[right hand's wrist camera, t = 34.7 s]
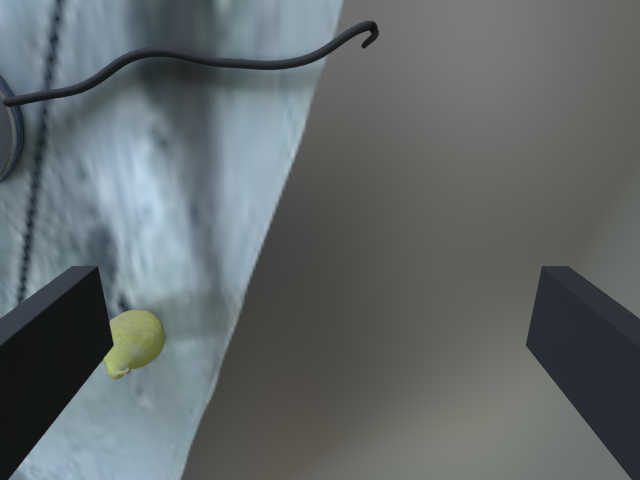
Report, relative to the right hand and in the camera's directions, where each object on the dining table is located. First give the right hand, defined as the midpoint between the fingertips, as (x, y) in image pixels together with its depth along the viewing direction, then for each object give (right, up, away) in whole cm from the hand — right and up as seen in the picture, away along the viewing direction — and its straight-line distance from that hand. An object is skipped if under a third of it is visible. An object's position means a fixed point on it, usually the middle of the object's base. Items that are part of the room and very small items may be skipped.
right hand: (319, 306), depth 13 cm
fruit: (-21, -8, +39) cm, 45 cm away
